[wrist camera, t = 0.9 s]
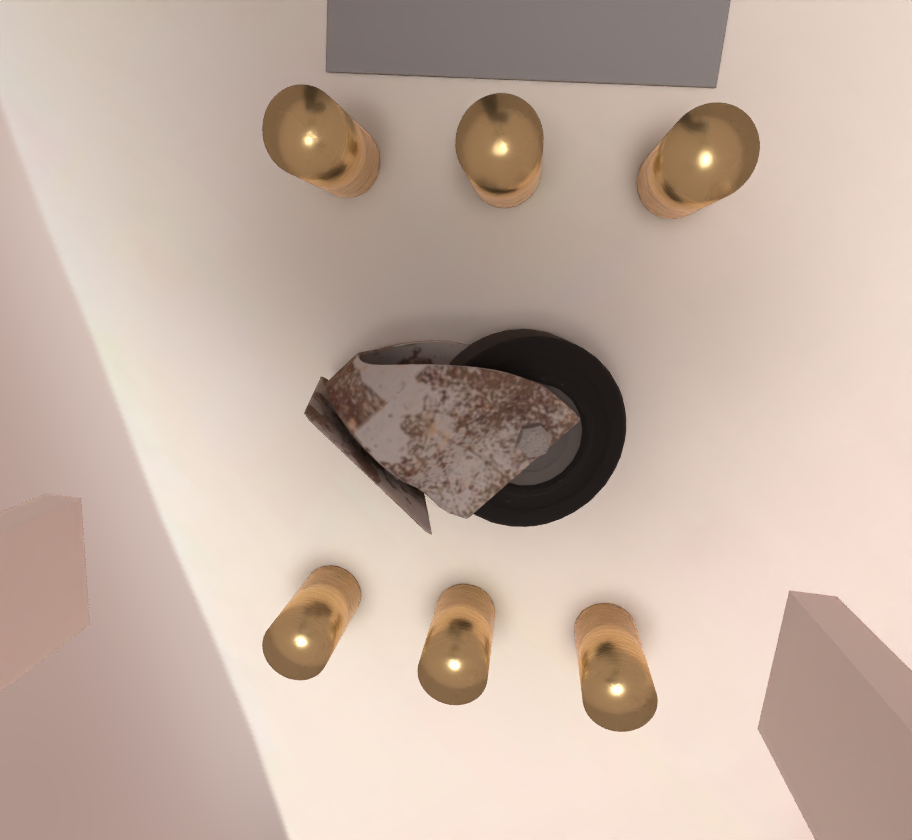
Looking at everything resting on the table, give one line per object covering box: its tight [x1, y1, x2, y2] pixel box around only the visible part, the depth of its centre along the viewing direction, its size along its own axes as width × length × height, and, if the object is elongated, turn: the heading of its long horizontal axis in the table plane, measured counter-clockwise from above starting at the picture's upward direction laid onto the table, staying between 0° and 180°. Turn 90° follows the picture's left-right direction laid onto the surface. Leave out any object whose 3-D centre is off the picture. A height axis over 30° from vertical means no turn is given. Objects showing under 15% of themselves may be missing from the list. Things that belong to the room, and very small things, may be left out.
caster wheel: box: [304, 329, 626, 535], centre depth 24 cm, size 7×11×10 cm
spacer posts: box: [262, 85, 760, 732], centre depth 25 cm, size 24×17×5 cm
